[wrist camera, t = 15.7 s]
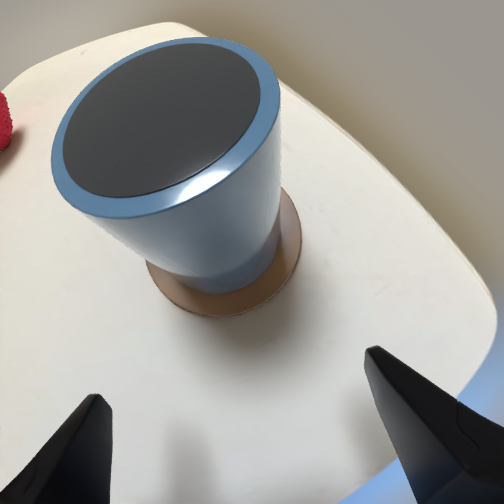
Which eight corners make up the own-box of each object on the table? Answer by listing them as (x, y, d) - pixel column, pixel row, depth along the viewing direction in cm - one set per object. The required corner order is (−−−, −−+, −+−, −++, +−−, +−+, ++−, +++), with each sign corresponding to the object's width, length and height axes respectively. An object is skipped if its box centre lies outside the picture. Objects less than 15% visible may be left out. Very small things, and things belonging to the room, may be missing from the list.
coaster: (331, 262, 16) (333, 260, 16) (186, 346, 15) (184, 346, 15) (250, 146, 19) (249, 142, 18) (127, 215, 18) (124, 211, 18)
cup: (252, 314, 15) (207, 262, 6) (141, 266, 16) (17, 182, 7) (297, 199, 17) (311, 50, 7) (191, 167, 18) (132, 35, 8)
